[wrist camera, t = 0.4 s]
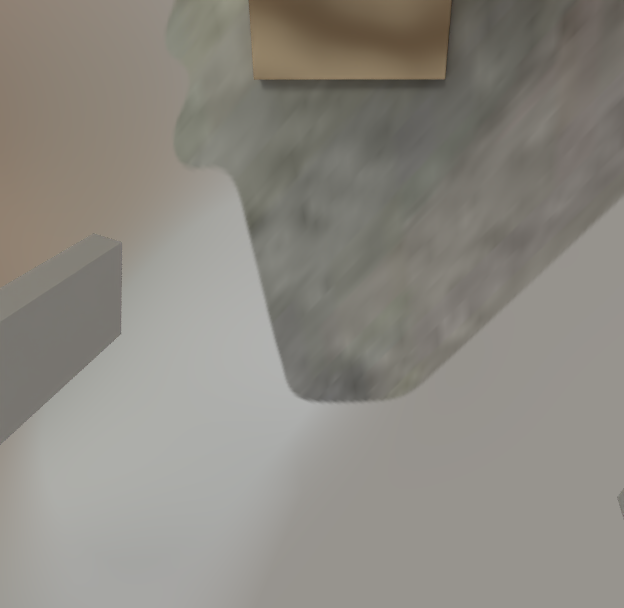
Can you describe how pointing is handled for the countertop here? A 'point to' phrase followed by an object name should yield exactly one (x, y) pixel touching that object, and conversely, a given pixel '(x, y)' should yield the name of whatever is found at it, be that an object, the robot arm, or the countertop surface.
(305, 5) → the board
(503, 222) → the countertop surface
